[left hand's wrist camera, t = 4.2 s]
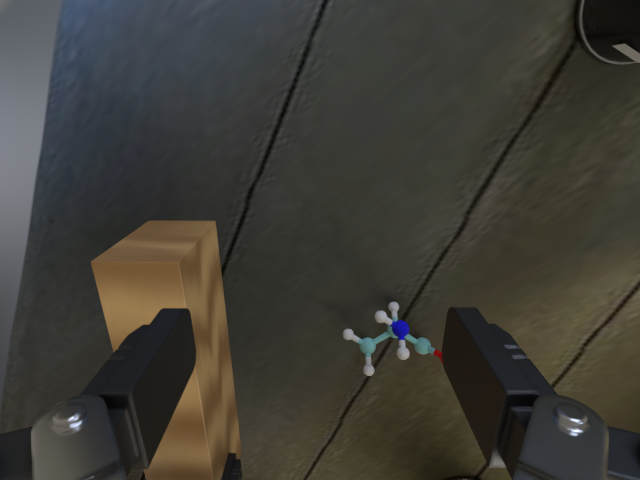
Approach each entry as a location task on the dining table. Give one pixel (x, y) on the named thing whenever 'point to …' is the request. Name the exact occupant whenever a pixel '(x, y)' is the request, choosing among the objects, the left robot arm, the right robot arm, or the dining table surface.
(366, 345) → the molecular model
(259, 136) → the dining table surface
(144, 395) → the left robot arm
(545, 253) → the dining table surface
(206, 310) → the bar
